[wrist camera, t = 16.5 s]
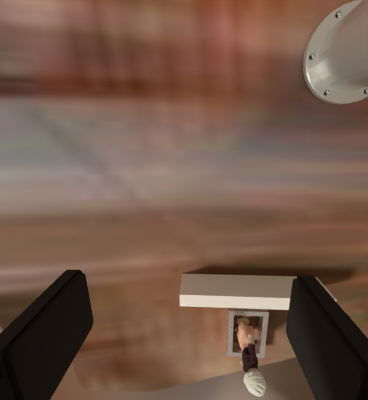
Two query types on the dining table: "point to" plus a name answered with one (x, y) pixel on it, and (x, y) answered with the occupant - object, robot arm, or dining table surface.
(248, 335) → the grandmother figurine
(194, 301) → the white long flat block
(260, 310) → the grey hollow rectangular frame
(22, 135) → the dining table surface
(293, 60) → the dining table surface
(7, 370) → the robot arm
